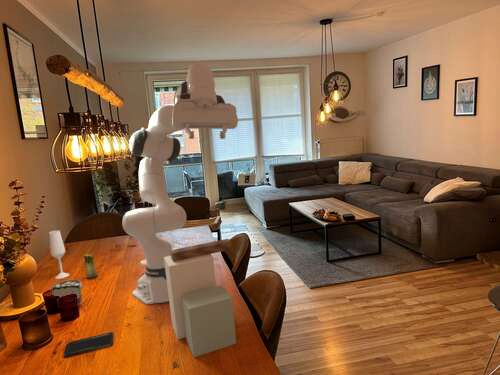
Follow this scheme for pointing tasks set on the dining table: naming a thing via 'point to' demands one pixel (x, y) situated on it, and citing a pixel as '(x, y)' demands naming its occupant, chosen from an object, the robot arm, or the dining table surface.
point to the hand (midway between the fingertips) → (207, 137)
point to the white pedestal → (187, 284)
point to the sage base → (208, 320)
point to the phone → (89, 344)
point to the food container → (68, 289)
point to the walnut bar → (200, 250)
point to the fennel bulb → (90, 266)
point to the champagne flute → (57, 250)
